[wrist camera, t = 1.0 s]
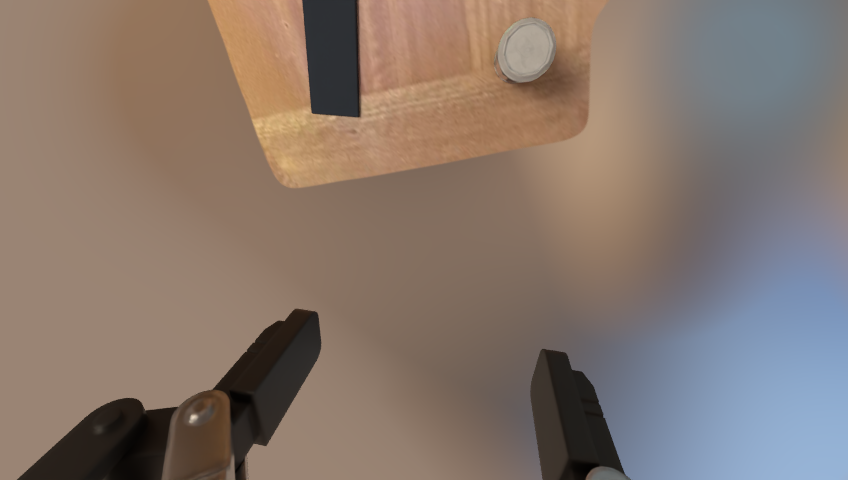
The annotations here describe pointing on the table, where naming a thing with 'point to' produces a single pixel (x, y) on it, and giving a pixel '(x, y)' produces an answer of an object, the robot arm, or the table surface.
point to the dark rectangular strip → (332, 56)
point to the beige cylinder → (525, 51)
